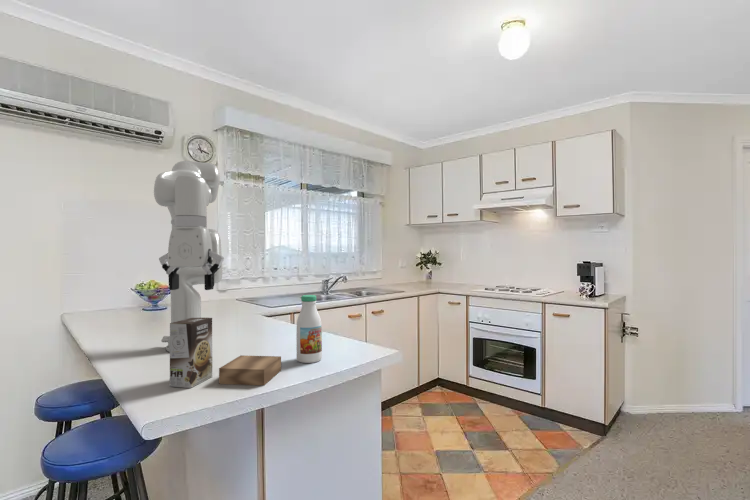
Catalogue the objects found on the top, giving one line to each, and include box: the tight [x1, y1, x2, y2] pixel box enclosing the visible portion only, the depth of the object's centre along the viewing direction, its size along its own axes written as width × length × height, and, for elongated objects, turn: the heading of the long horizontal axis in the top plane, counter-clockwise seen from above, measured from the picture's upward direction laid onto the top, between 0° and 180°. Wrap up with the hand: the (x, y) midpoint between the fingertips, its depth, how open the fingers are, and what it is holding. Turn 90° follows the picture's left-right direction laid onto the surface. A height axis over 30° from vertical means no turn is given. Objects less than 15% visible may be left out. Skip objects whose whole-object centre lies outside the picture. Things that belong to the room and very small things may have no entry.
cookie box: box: [169, 317, 213, 389], centre depth 101 cm, size 9×6×16 cm
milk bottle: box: [295, 294, 323, 364], centre depth 120 cm, size 8×8×20 cm
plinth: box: [218, 354, 282, 386], centre depth 104 cm, size 12×12×4 cm
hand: (191, 289), depth 101 cm, fingers open, 9 cm apart
